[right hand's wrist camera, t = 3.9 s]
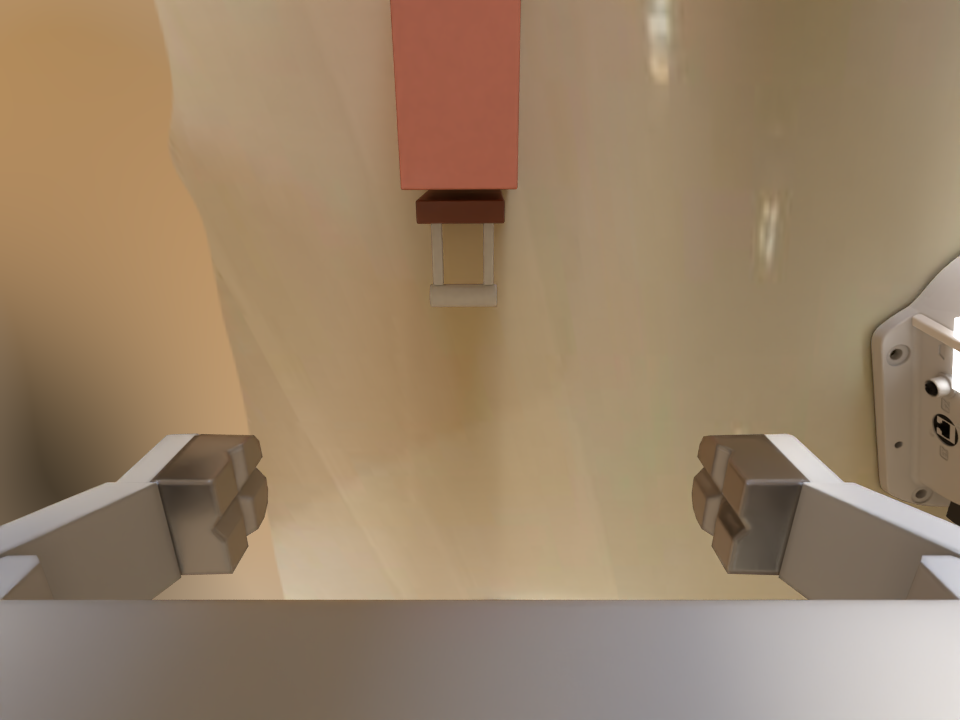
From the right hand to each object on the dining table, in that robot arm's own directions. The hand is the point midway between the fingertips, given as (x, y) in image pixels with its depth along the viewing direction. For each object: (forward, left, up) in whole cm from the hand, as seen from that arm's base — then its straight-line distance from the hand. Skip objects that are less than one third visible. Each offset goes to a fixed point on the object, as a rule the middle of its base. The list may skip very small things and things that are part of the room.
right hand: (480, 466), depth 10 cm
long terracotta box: (+13, 0, -30) cm, 33 cm away
